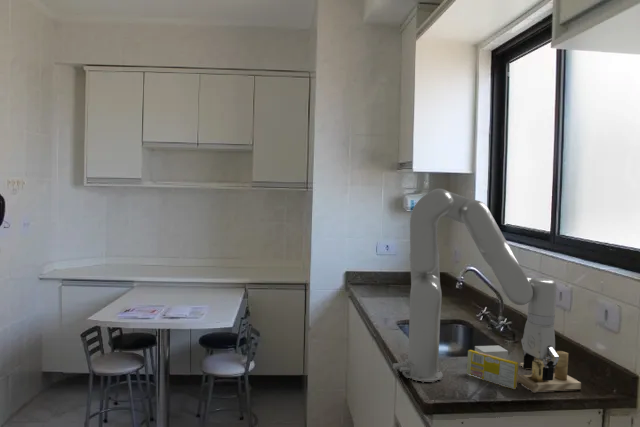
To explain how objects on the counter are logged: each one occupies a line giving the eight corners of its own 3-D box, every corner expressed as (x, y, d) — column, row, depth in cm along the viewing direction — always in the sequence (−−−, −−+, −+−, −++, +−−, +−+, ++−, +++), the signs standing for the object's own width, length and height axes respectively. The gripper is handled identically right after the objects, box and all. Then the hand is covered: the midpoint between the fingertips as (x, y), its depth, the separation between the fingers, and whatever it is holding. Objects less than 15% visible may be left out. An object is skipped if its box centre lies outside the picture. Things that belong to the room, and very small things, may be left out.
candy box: (517, 389, 155) (519, 362, 154) (514, 390, 153) (515, 363, 153) (469, 373, 166) (470, 348, 166) (465, 375, 165) (467, 350, 164)
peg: (545, 389, 155) (546, 363, 154) (535, 389, 154) (536, 363, 154) (538, 384, 158) (540, 359, 158) (528, 385, 157) (530, 360, 157)
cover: (482, 369, 170) (483, 351, 170) (474, 363, 176) (474, 346, 176) (507, 368, 172) (508, 351, 171) (497, 362, 178) (498, 345, 177)
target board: (533, 393, 151) (534, 358, 151) (517, 382, 159) (519, 349, 159) (580, 390, 154) (582, 356, 154) (563, 380, 162) (565, 348, 162)
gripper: (513, 312, 163) (510, 364, 164) (547, 327, 146) (544, 385, 147) (534, 311, 164) (531, 363, 165) (570, 326, 147) (567, 384, 148)
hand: (537, 374), depth 156 cm, fingers open, 9 cm apart
